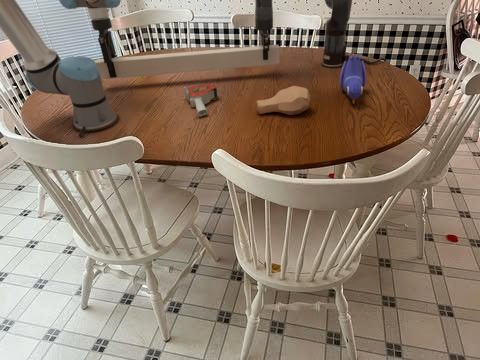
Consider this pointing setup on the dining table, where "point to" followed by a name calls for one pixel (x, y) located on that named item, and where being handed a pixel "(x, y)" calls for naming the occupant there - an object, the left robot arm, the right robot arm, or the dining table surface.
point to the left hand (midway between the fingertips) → (114, 74)
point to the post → (189, 61)
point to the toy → (353, 77)
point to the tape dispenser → (201, 97)
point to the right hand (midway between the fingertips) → (264, 57)
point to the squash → (286, 101)
